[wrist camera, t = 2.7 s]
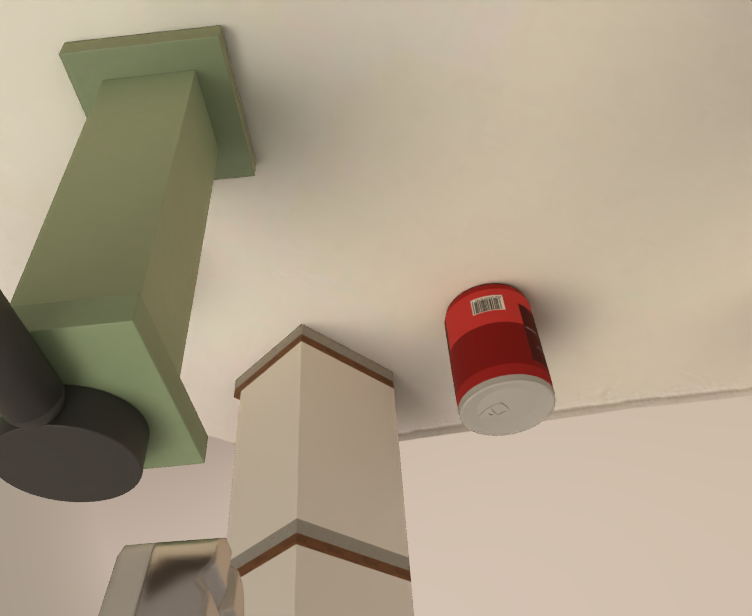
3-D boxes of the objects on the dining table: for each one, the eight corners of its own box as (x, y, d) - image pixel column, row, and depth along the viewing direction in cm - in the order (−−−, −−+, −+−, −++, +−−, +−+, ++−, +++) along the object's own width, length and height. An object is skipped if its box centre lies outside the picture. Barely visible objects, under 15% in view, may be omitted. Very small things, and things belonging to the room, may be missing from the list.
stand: (58, 27, 44) (-120, 346, 26) (217, 9, 44) (146, 319, 26) (122, 177, 53) (20, 497, 35) (256, 163, 52) (223, 478, 34)
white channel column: (235, 380, 71) (192, 805, 47) (301, 324, 65) (290, 772, 41) (325, 420, 77) (327, 816, 52) (392, 372, 71) (429, 789, 47)
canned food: (426, 320, 66) (439, 419, 58) (485, 267, 61) (508, 368, 54) (486, 349, 69) (506, 446, 62) (546, 302, 65) (576, 400, 57)
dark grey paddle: (-230, 146, 20) (-279, 199, 18) (-22, 124, 20) (-53, 175, 18) (39, 468, 33) (24, 516, 31) (167, 456, 33) (159, 504, 31)
